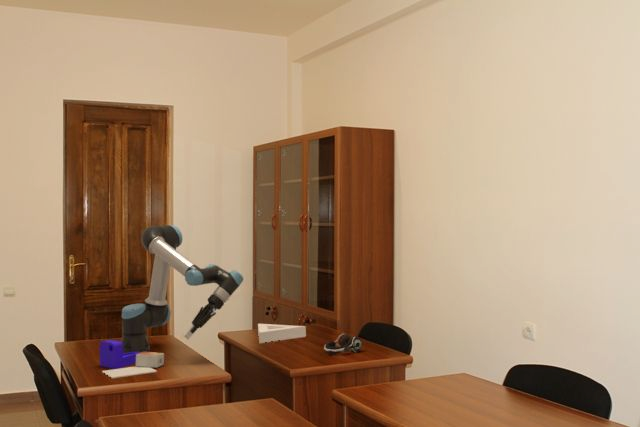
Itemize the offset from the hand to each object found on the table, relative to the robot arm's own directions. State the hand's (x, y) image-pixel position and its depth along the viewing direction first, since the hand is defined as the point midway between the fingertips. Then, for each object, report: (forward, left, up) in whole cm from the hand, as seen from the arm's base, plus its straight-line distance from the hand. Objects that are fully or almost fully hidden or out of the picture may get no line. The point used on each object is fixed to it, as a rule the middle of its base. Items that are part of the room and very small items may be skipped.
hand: (185, 337), depth 336 cm
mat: (0, -27, -12) cm, 30 cm away
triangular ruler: (-32, +69, -13) cm, 77 cm away
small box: (-2, -11, -9) cm, 15 cm away
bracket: (-18, -24, -13) cm, 32 cm away
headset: (+20, +73, -13) cm, 77 cm away
